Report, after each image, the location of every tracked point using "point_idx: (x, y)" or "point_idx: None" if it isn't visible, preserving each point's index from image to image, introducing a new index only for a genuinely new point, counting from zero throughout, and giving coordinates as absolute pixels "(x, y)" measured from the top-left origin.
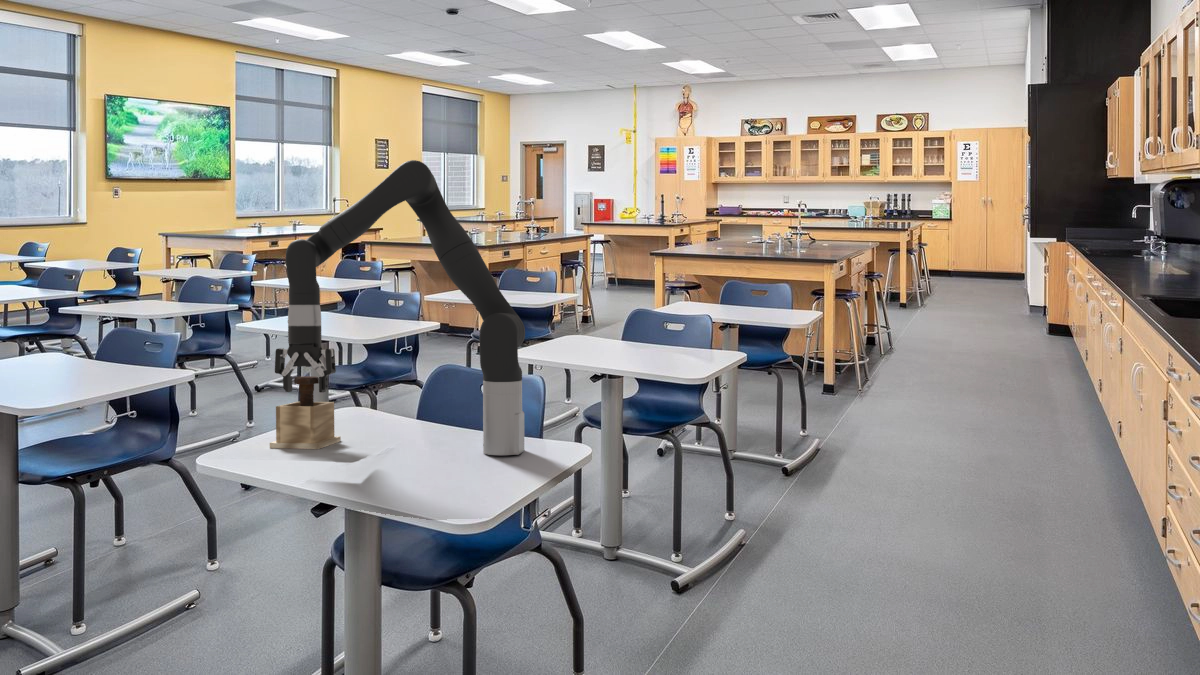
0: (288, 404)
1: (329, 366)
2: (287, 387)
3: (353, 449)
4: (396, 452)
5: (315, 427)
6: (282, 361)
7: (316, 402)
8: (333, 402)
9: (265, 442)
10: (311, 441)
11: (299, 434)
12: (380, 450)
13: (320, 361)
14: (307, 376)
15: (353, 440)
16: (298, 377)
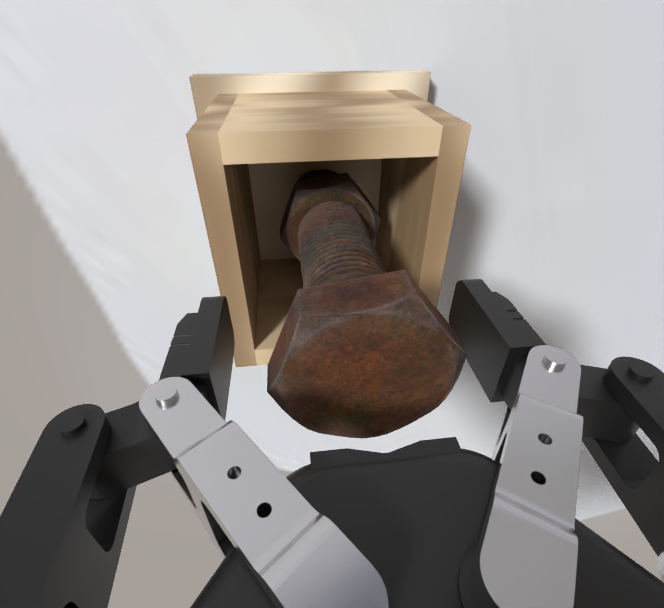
0: (245, 295)
1: (635, 472)
2: (231, 364)
3: (512, 246)
4: (640, 269)
5: None
6: (87, 559)
7: (352, 157)
8: (468, 136)
9: (108, 158)
10: None
11: None
12: (596, 247)
13: (567, 472)
14: (347, 333)
15: (474, 21)
16: (326, 422)
